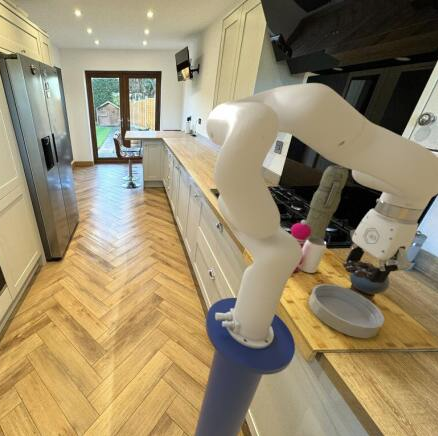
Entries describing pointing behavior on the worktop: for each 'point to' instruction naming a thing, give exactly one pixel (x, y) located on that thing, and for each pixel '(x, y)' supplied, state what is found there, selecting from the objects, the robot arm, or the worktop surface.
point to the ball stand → (367, 286)
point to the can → (312, 254)
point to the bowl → (346, 310)
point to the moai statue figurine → (326, 200)
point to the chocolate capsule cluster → (359, 268)
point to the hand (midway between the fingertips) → (363, 271)
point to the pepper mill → (300, 234)
